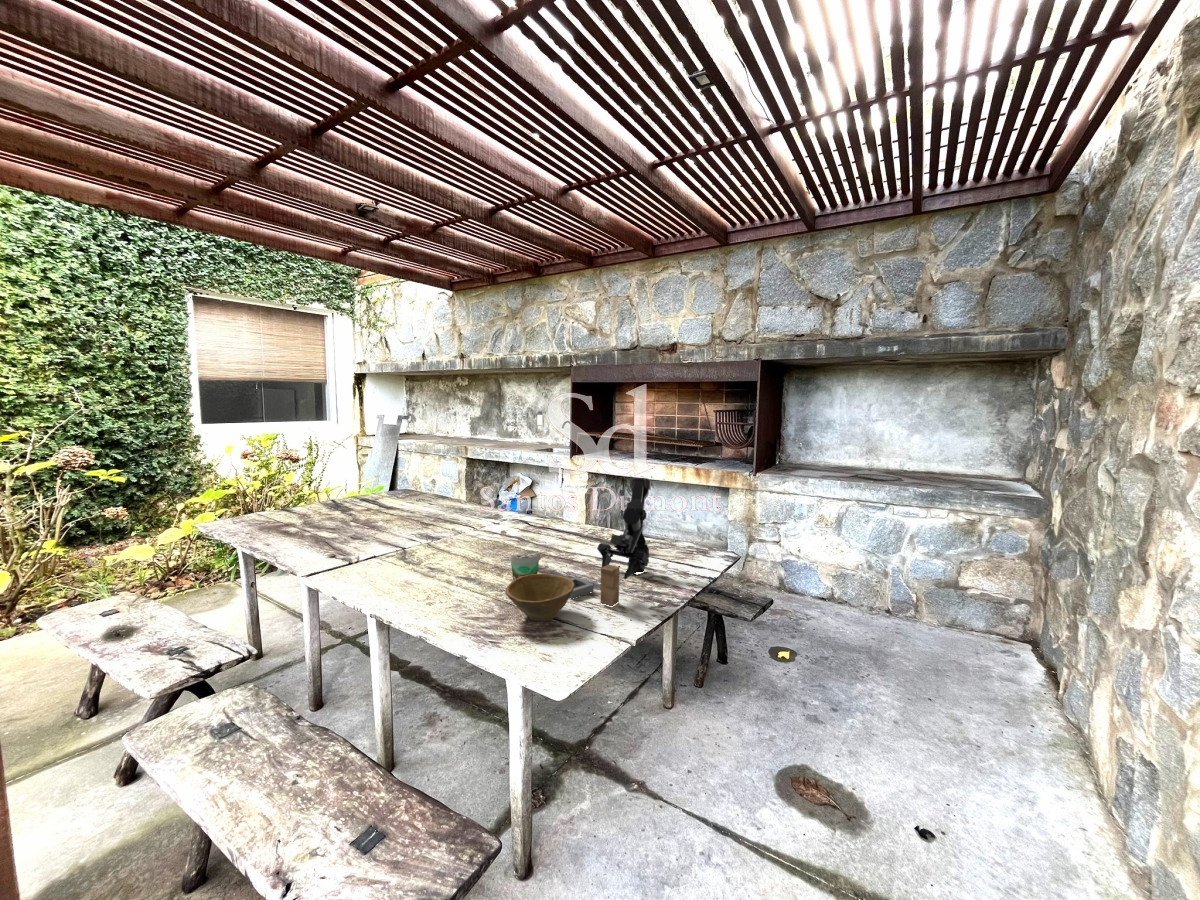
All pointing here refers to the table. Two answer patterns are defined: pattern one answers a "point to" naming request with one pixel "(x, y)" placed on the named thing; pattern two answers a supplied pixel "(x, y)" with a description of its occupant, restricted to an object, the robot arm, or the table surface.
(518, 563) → the food container
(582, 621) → the table surface
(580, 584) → the socket
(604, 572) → the tall wooden post
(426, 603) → the table surface
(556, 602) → the bowl
